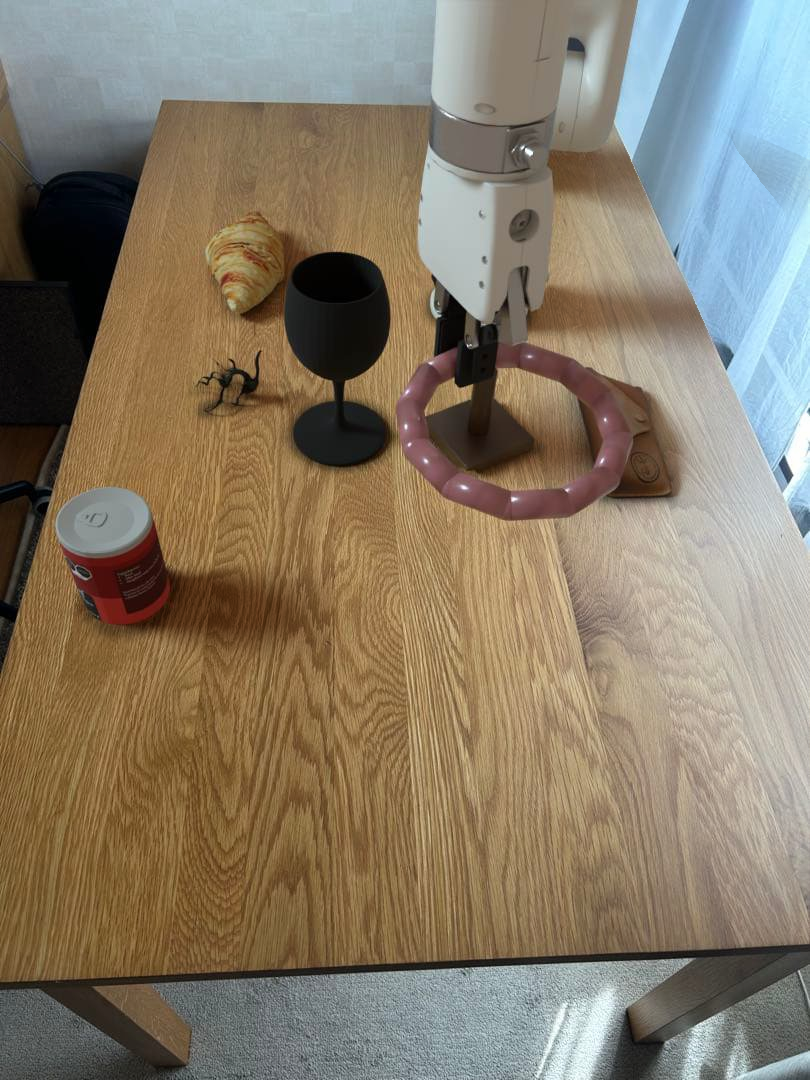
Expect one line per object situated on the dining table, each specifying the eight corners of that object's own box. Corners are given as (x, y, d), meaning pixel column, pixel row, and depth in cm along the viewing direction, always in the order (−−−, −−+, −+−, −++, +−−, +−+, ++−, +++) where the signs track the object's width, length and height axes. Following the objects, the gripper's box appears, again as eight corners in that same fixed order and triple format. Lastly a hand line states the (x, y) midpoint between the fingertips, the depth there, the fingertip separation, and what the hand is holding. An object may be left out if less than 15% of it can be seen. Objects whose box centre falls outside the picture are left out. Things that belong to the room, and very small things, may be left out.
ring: (444, 330, 71) (448, 310, 69) (647, 399, 68) (655, 380, 67) (359, 473, 61) (361, 453, 60) (591, 559, 59) (599, 541, 57)
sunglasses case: (678, 493, 95) (661, 454, 90) (615, 517, 97) (594, 480, 93) (641, 383, 107) (623, 344, 102) (585, 407, 109) (565, 369, 104)
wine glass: (399, 416, 102) (406, 260, 87) (367, 477, 95) (369, 320, 80) (314, 393, 104) (307, 237, 89) (277, 452, 97) (262, 294, 82)
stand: (486, 402, 104) (496, 334, 97) (533, 449, 99) (547, 381, 92) (421, 427, 101) (426, 359, 94) (466, 477, 96) (475, 410, 89)
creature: (189, 419, 102) (254, 418, 100) (172, 381, 98) (239, 379, 96) (213, 376, 107) (275, 374, 105) (197, 338, 103) (261, 336, 101)
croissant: (264, 344, 115) (291, 298, 109) (189, 312, 111) (212, 263, 105) (275, 250, 128) (299, 205, 123) (208, 218, 124) (230, 170, 119)
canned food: (90, 566, 86) (61, 487, 78) (175, 563, 87) (155, 484, 78) (78, 632, 81) (46, 555, 73) (168, 628, 82) (147, 551, 74)
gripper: (620, 177, 51) (563, 419, 65) (475, 67, 60) (453, 300, 74) (509, 205, 49) (475, 450, 63) (375, 86, 58) (371, 323, 72)
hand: (463, 367), depth 68 cm, fingers closed on ring, 2 cm apart
